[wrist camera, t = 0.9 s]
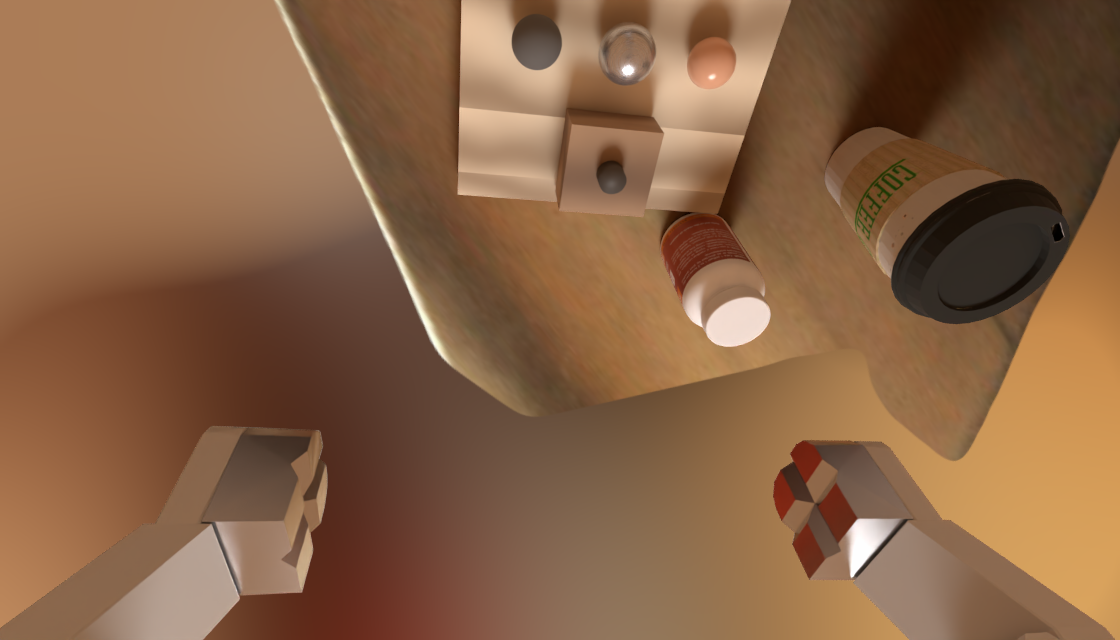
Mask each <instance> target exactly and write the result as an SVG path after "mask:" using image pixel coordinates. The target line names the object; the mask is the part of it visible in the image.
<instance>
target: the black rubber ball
mask: <svg viewBox="0 0 1120 640" xmlns="http://www.w3.org/2000/svg"><path fill="white" fill-rule="evenodd" d="M561 48H562V37H561V33H560V30H559V28H558V27H557V25H556V24H555V22H554V21H553V20H552V19H550V18H549V17H547V16H545V15H541V14H531V15H528V16H526V17H524V18H523V19H521V20H520V21H519V22H518V23H517V25H516V26H515V28H514V31H513V34H512V49H513V52H514V55H515V57H516V58H517V60H518V61H519V62H520V63H521V64H522V65H523V66H525V67H526V68H528V69H531V70H543V69H546V68H548V67H550V66H551V65H552V64H553V63H554V62H555V61H556V60H557V58H558V57H559V55H560V52H561Z"/></svg>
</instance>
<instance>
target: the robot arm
mask: <svg viewBox="0 0 1120 640" xmlns="http://www.w3.org/2000/svg"><path fill="white" fill-rule="evenodd" d="M322 446H323V444H322V439H321V434H320V431H316V430H298V429H276V428H254V427H222V426H211V427H210V428H209V429H208V430H207V431H206V432H205V433H204V434H203V435H202V436H201V438H200V440H199V442H198V444H197V445H196V448H195V449H194V451H193V453H192V455H191V457H190V459H189V461H188V462H187V464H186V466H185V468H184V470H183V472H182V474H181V476H180V477H179V479H178V481H177V483H176V485H175V487H174V489H173V490H172V492H171V494H170V496H169V498H168V500H167V502H166V504H165V505H164V507H163V509H162V511H161V513H160V515H159V517H158V519H157V520H156V522H155V524H142V525H141V526H139V527H138V528H137V529H135V530H134V531H133V532H131V533H130V534H128V535H127V536H126V537H124V538H123V539H122V540H120V541H119V542H117V543H116V544H115V545H113V546H112V547H111V548H109V549H108V550H106V551H105V552H104V553H102V554H101V555H100V556H98V557H97V558H96V559H94V560H93V561H92V562H90V563H89V564H87V565H86V566H85V567H83V568H82V569H80V570H79V571H78V572H77V573H75V574H74V575H72V576H71V577H70V578H68V579H67V580H65V581H64V582H63V583H61V584H60V585H59V586H57V587H56V588H54V589H53V590H52V591H50V592H49V593H48V594H47V595H45V596H44V597H42V598H41V599H39V600H38V601H37V602H35V603H34V604H33V605H31V606H30V607H29V608H27V609H26V610H24V611H23V612H22V613H20V614H19V615H18V616H16V617H15V618H13V619H12V620H11V621H9V622H8V623H7V624H5V625H4V626H2V627H1V628H0V640H203V639H204V638H205V637H206V636H207V634H209V632H210V631H211V630H212V629H213V628H214V627H215V626H216V625H217V624H218V623H219V621H220V620H221V619H222V618H223V617H224V616H225V615H226V614H227V613H228V612H229V610H230V609H231V608H232V607H233V606H234V605H235V604H236V603H237V602H238V600H239V599H240V598H239V595H257V594H275V593H296V592H302V589H303V585H304V582H305V578H306V574H307V570H308V567H309V564H310V560H311V556H312V552H313V546H312V541H311V536H310V533H311V532H312V531H313V530H314V529H315V528H316V527H317V526H318V525H319V524H320V523H321V519H322V515H323V511H324V507H325V499H326V492H327V470H326V464H325V463H324V462H322V461H321V460H320V459H319V457H320V454H321V450H322ZM790 455H791V458H792V460H793V462H792V463H790V464H789V465H787V466H786V467H784V468H783V469H781V470H780V472H779V474H778V476H777V478H776V479H775V481H774V492H773V493H774V494H773V498H774V502H775V506H776V510H777V512H778V514H779V516H780V518H781V521H782V522H783V523H784V524H785V525H787V526H788V527H789V528H790V529H791V530H792V531H794V532H795V534H794V539H793V543H792V545H793V547H794V549H795V551H796V553H797V555H798V557H799V559H800V561H801V563H802V566H803V568H804V570H805V572H806V574H807V576H808V578H809V580H855V581H854V582H853V583H854V584H855V585H856V586H857V587H858V588H859V589H860V590H861V591H862V592H863V593H864V594H865V595H866V596H867V597H868V598H869V599H870V600H871V601H872V602H873V603H874V604H875V605H876V606H877V607H878V608H879V609H880V610H881V611H882V612H883V613H884V614H885V615H886V616H887V617H888V618H889V619H890V620H891V621H892V622H893V623H894V624H895V625H896V626H897V627H898V628H899V629H900V631H901V632H902V633H903V634H905V635H906V637H907V638H909V640H1115V639H1114V638H1113V636H1112V635H1111V634H1110V633H1109V632H1108V631H1107V629H1106V628H1105V627H1103V626H1102V625H1100V624H1099V623H1098V622H1096V621H1095V620H1093V619H1092V618H1090V617H1089V616H1087V615H1086V614H1085V613H1083V612H1081V611H1080V610H1079V609H1077V608H1076V607H1074V606H1073V605H1072V604H1070V603H1069V602H1067V601H1066V600H1064V599H1063V598H1061V597H1060V596H1058V595H1057V594H1056V593H1054V592H1053V591H1051V590H1050V589H1049V588H1047V587H1046V586H1044V585H1043V584H1041V583H1040V582H1039V581H1037V580H1036V579H1034V578H1033V577H1031V576H1030V575H1028V574H1027V573H1026V572H1024V571H1023V570H1021V569H1020V568H1018V567H1017V566H1015V565H1014V564H1013V563H1011V562H1010V561H1008V560H1007V559H1006V558H1004V557H1003V556H1001V555H1000V554H998V553H997V552H995V551H994V550H993V549H991V548H990V547H988V546H987V545H985V544H984V543H982V542H981V541H980V540H978V539H977V538H975V537H974V536H972V535H971V534H969V533H968V532H967V531H965V530H964V529H962V528H961V527H959V526H958V525H956V524H955V523H953V522H952V521H951V520H942V518H941V517H940V516H939V514H938V513H937V511H936V510H935V509H934V507H933V506H932V505H931V503H930V502H929V501H928V499H927V498H926V496H925V495H924V494H923V492H922V491H921V490H920V488H919V487H918V486H917V484H916V483H915V481H914V480H913V479H912V477H911V476H910V475H909V473H908V472H907V470H906V469H905V468H904V466H903V465H902V464H901V462H900V461H899V460H898V458H897V457H896V455H895V454H894V453H893V451H892V450H891V449H890V448H889V447H888V446H887V445H885V444H884V443H882V442H866V441H865V442H864V441H854V442H852V441H819V440H816V441H815V440H804V441H801V442H800V443H798V444H796V445H795V447H794V448H793V450H792V452H791V453H790Z"/></svg>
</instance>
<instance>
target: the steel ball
mask: <svg viewBox="0 0 1120 640" xmlns="http://www.w3.org/2000/svg"><path fill="white" fill-rule="evenodd" d="M598 60H599V64H600V68H601V70H602V72H603V74H604V75H605V76H606V77H607V78H608V79H609V80H610V81H612V82H613V83H615V84H618V85H622V86H629V85H634V84H636V83H639V82H640V81H642V80H643V79H644V78H646V77H647V75H648V74H649V73H650V72H651V70H652V68H653V66H654V63H655V60H656V45H655V41H654V39H653V37H652V35H651V33H650V32H649V31H648V30H647V29H646V28H645V27H644V26H642V25H640V24H638V23H635V22H623V23H619V24H617V25H615V26H613V27H612V28H611V29H610V30H608V31H607V33H606V34H605V35H604V37H603V38H602V41H601V43H600V46H599V51H598Z"/></svg>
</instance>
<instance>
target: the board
mask: <svg viewBox="0 0 1120 640" xmlns="http://www.w3.org/2000/svg"><path fill="white" fill-rule="evenodd" d="M790 2H791V0H462V1H461V54H460V107H459V160H458V194H459V195H473V196H486V197H499V198H512V199H526V200H539V201H552V202H557V197H556V192H555V190H556V183H557V175H558V168H559V161H560V153H561V146H562V139H563V132H564V124H565V117H566V110H567V108H571V109H581V110H591V111H601V112H610V113H620V114H630V115H640V116H649V117H654V118H655V120H656V121H657V123H658V124H659V126H660V128H661V129H662V131H663V132H664V136H663V140H662V144H661V148H660V152H659V156H658V160H657V164H656V168H655V172H654V176H653V180H652V184H651V188H650V192H649V196H648V200H647V204H646V208H645V209H659V210H672V211H685V212H698V213H712V214H718V211H719V209H720V206H721V203H722V200H723V197H724V194H725V191H726V188H727V185H728V182H729V179H730V177H731V174H732V171H733V168H734V165H735V162H736V159H737V156H738V153H739V150H740V147H741V145H742V142H743V139H744V136H745V133H746V130H747V127H748V124H749V121H750V118H751V116H752V113H753V110H754V107H755V104H756V101H757V98H758V95H759V92H760V89H761V86H762V84H763V81H764V78H765V75H766V72H767V69H768V66H769V63H770V60H771V57H772V54H773V52H774V49H775V46H776V43H777V40H778V37H779V34H780V31H781V28H782V25H783V22H784V20H785V17H786V14H787V11H788V8H789V5H790ZM531 14H541V15H545V16H547V17H549V18H550V19H552V20H553V21H554V22H555V24H556V25H557V27H558V28H559V30H560V33H561V37H562V48H561V52H560V55H559V57H558V58H557V60H556V61H555V62H554V63H553V64H552V65H551V66H550V67H548V68H546V69H543V70H531V69H528V68H526V67H525V66H523V65H522V64H521V63H520V62H519V61H518V60H517V58H516V57H515V55H514V52H513V49H512V34H513V31H514V28H515V26H516V25H517V23H518V22H519V21H520V20H521V19H523V18H524V17H526V16H528V15H531ZM623 22H635V23H638V24H640V25H642V26H644V27H645V28H646V29H647V30H648V31H649V32H650V33H651V35H652V37H653V39H654V41H655V45H656V60H655V63H654V66H653V68H652V70H651V72H650V73H649V74H648V75H647V77H646V78H644V79H643V80H642V81H640V82H639V83H636V84H634V85H629V86H622V85H618V84H615V83H613V82H612V81H610V80H609V79H608V78H607V77H606V76H605V75H604V74H603V72H602V70H601V68H600V64H599V60H598V51H599V46H600V43H601V41H602V38H603V37H604V35H605V34H606V33H607V31H608V30H610V29H611V28H612V27H613V26H615V25H617V24H619V23H623ZM709 37H720V38H723V39H725V40H727V41H728V42H729V43H730V44H731V45H732V46H733V48H734V50H735V53H736V68H735V71H734V73H733V75H732V77H731V78H730V79H729V80H728V81H727V82H726V83H725V84H724V85H722V86H721V87H719V88H716V89H710V90H708V89H702V88H700V87H698V86H696V85H695V84H694V83H693V82H692V81H691V79H690V78H689V75H688V72H687V60H688V56H689V54H690V52H691V50H692V49H693V47H694V46H695V45H696V44H697V43H698V42H700V41H701V40H703V39H706V38H709Z"/></svg>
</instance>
